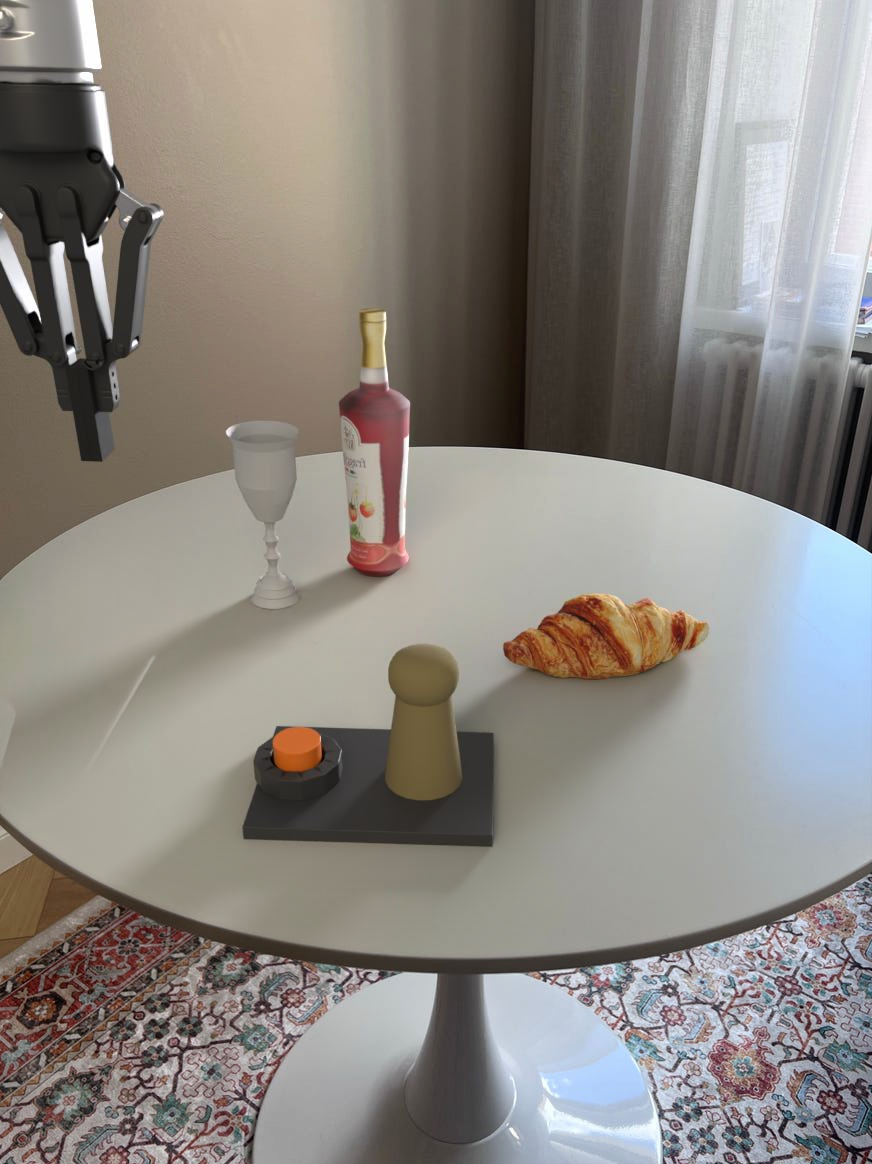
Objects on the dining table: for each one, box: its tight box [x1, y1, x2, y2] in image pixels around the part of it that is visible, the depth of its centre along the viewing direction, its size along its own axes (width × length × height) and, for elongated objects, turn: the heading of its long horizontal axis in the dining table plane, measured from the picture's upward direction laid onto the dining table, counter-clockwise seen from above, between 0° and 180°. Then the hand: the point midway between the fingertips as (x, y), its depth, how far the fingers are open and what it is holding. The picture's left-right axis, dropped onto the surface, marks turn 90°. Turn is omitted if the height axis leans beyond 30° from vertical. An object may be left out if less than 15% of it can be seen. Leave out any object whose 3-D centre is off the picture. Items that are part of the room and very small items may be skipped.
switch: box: [273, 726, 322, 772], centre depth 78 cm, size 4×4×2 cm
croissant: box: [502, 592, 711, 680], centre depth 97 cm, size 21×10×8 cm, turn 109°
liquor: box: [338, 307, 411, 578], centre depth 108 cm, size 7×7×28 cm
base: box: [241, 725, 494, 848], centre depth 79 cm, size 18×13×3 cm
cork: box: [385, 643, 463, 800], centre depth 76 cm, size 6×6×11 cm
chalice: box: [225, 420, 301, 610], centre depth 103 cm, size 7×7×18 cm
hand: (98, 454), depth 73 cm, fingers closed
